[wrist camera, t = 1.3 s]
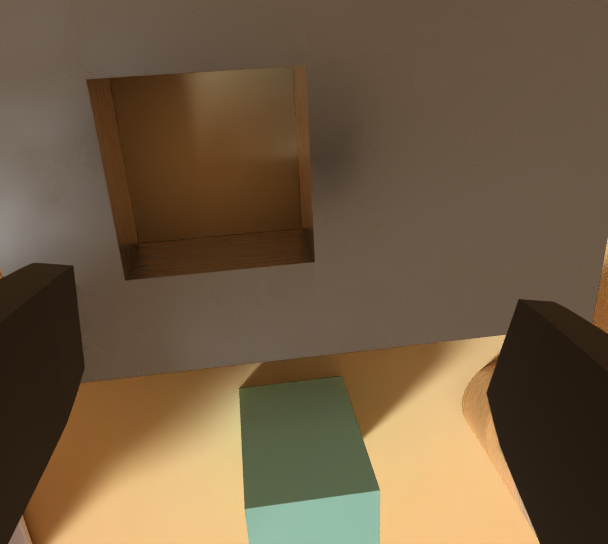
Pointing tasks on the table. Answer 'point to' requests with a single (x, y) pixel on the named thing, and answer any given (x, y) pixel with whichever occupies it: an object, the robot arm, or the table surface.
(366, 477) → the square peg
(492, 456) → the round peg
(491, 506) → the table surface
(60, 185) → the bore block
